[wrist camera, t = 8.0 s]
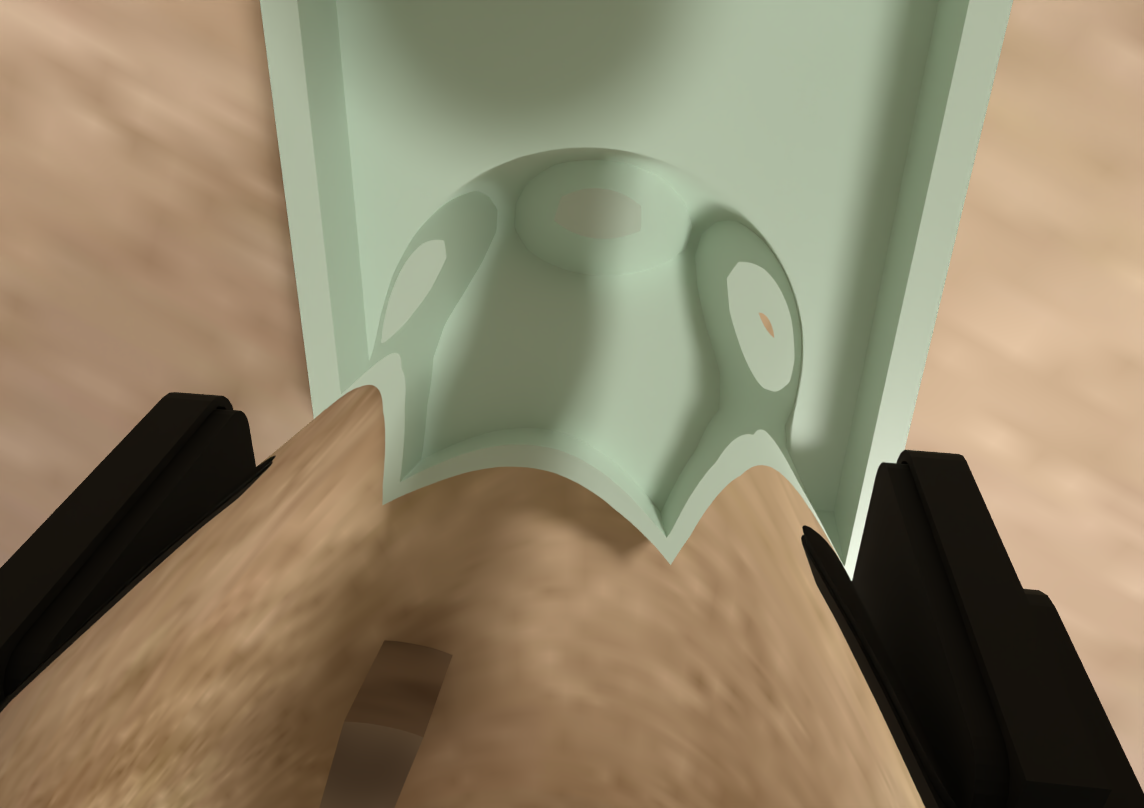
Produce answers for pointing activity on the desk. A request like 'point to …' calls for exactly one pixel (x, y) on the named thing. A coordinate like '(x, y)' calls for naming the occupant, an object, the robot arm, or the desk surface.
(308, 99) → the tray
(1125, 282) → the desk surface
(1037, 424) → the desk surface
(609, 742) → the beer glass
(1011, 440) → the desk surface
